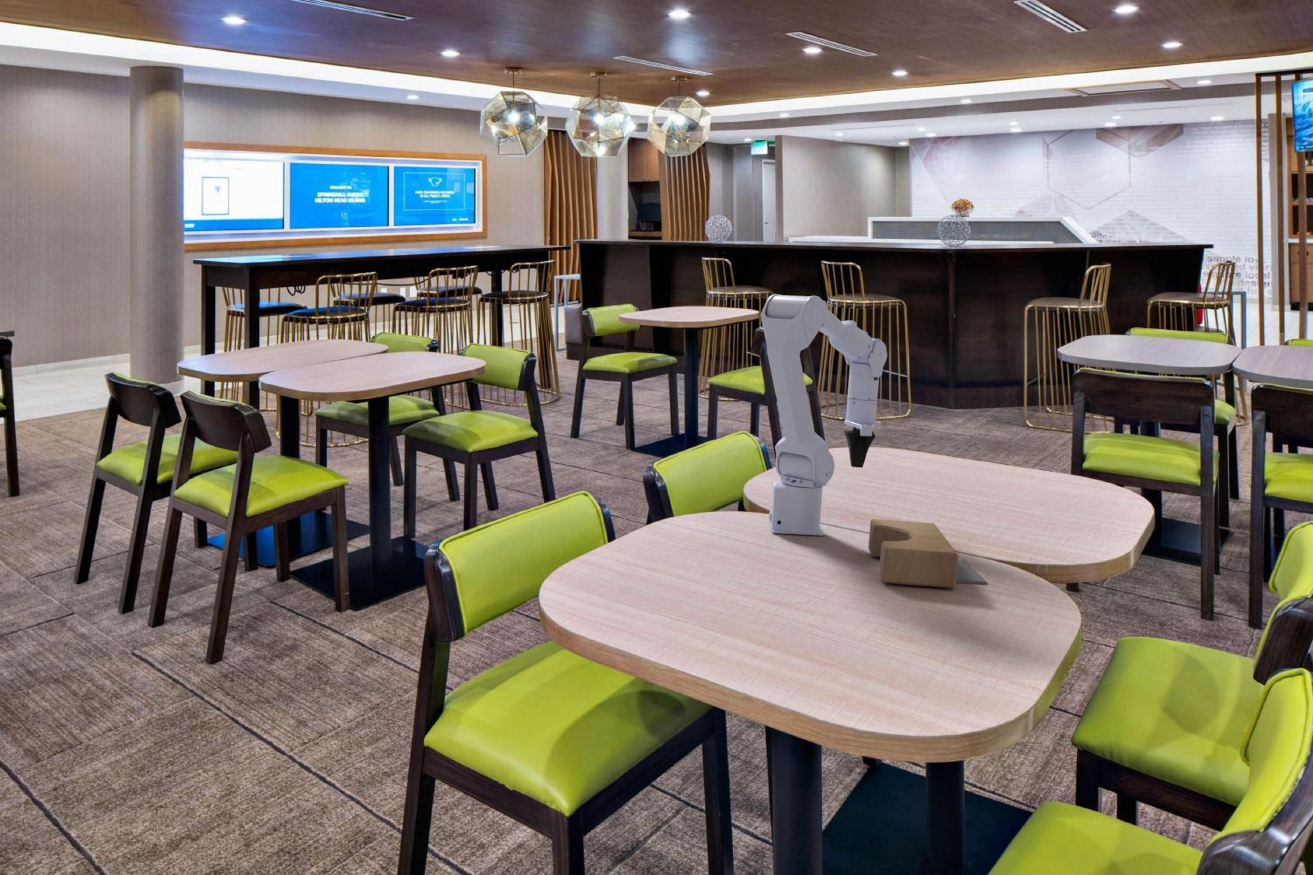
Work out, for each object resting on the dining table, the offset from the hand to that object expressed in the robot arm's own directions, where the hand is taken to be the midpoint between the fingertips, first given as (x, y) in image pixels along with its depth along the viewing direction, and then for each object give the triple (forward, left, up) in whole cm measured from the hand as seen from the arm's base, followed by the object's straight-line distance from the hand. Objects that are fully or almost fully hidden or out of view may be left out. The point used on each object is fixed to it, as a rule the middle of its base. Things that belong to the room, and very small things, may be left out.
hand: (856, 466), depth 188 cm
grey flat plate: (+7, -36, -10) cm, 38 cm away
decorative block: (+4, -26, -7) cm, 27 cm away
